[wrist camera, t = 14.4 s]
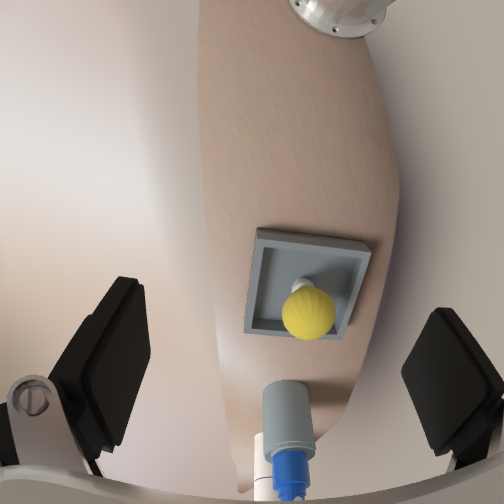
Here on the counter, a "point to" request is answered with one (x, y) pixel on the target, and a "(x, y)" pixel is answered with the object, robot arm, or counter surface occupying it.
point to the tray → (302, 266)
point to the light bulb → (308, 311)
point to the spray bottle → (288, 437)
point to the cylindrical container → (263, 474)
